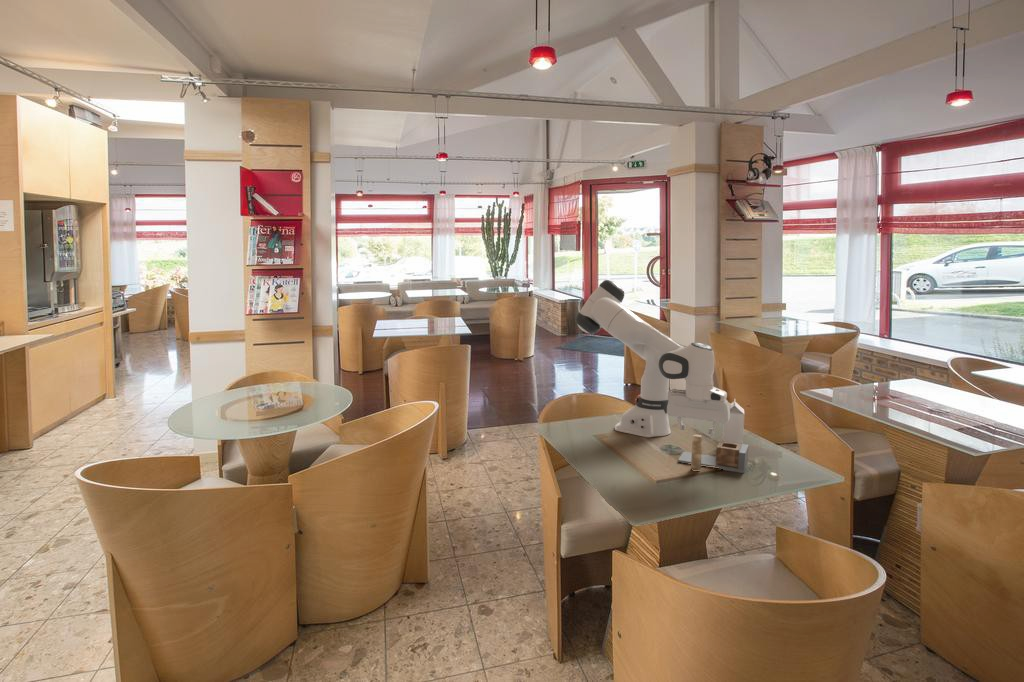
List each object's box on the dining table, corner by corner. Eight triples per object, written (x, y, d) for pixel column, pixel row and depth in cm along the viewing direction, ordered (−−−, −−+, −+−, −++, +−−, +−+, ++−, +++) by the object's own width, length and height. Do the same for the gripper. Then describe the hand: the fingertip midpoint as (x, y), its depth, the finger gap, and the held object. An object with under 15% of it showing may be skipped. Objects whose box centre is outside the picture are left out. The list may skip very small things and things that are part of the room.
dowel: (690, 470, 211) (691, 436, 209) (691, 467, 213) (693, 434, 212) (699, 472, 209) (701, 438, 207) (701, 469, 212) (703, 435, 210)
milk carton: (741, 448, 235) (744, 399, 232) (741, 453, 228) (745, 403, 225) (721, 445, 237) (724, 397, 234) (721, 451, 230) (724, 402, 227)
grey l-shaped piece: (677, 462, 218) (678, 443, 217) (683, 454, 227) (684, 435, 226) (743, 473, 209) (745, 453, 207) (747, 464, 217) (748, 444, 216)
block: (715, 463, 214) (716, 447, 213) (719, 457, 220) (720, 441, 219) (738, 467, 210) (739, 450, 209) (741, 460, 217) (742, 444, 216)
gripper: (665, 390, 209) (663, 429, 211) (729, 397, 200) (726, 438, 202) (670, 386, 214) (668, 425, 216) (732, 393, 205) (729, 433, 207)
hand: (696, 431), depth 209 cm, fingers open, 8 cm apart
